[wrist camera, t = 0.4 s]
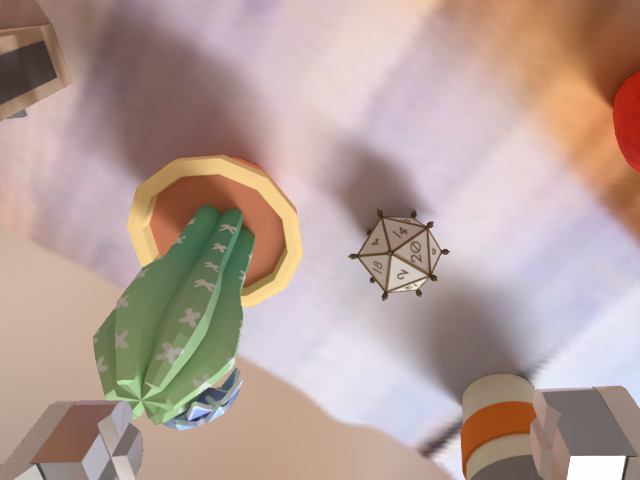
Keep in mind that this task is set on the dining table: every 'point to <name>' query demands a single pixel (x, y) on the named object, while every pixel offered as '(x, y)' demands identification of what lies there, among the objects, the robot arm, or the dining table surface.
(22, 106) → the birch block
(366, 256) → the game die
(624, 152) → the apple
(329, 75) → the dining table surface
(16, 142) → the dining table surface
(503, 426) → the reusable coffee cup
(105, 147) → the dining table surface
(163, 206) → the potted cactus
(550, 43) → the dining table surface
